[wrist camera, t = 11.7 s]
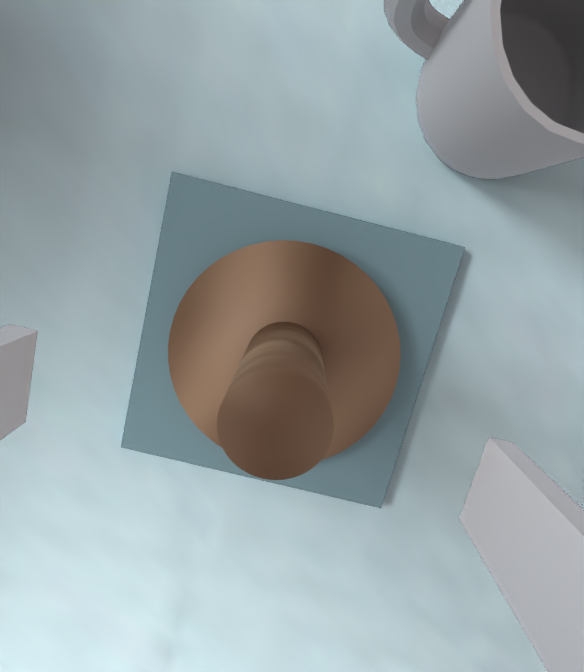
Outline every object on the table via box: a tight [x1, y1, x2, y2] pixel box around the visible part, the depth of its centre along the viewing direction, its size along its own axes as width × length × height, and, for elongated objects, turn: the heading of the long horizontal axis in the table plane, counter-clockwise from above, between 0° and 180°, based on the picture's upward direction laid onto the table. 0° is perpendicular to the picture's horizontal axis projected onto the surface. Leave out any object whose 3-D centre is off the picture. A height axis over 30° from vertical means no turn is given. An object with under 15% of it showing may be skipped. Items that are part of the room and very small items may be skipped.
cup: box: [384, 0, 584, 179], centre depth 17 cm, size 7×10×9 cm
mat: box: [121, 172, 465, 508], centre depth 24 cm, size 14×14×1 cm
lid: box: [168, 240, 401, 480], centre depth 19 cm, size 11×11×9 cm
